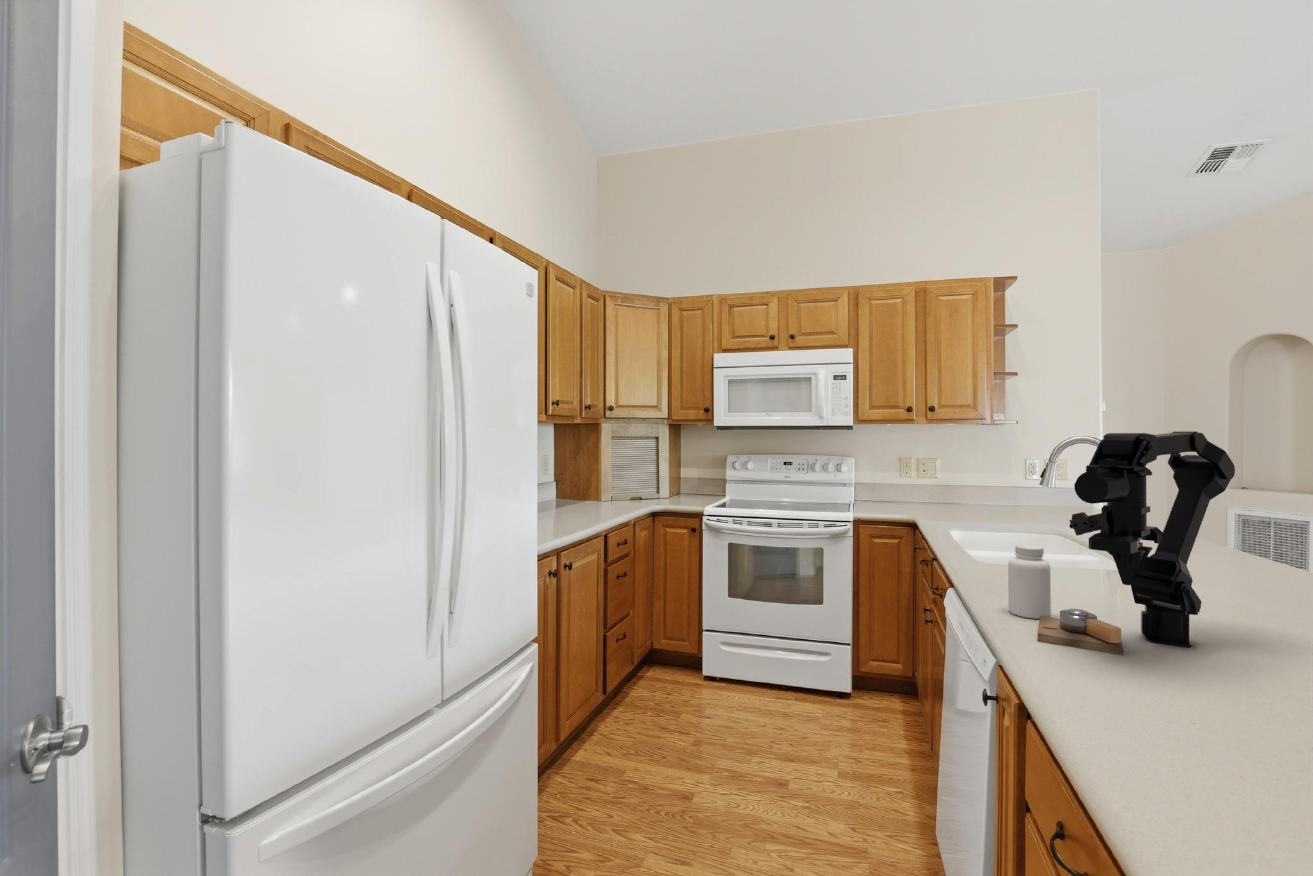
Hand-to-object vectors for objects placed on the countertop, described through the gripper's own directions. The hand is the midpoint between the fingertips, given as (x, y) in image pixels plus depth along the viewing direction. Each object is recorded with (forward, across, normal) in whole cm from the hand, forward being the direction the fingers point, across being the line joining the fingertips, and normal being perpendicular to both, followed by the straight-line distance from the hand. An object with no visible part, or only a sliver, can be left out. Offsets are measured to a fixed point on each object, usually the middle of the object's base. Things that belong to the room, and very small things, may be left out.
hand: (1126, 584), depth 109 cm
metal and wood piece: (+10, +1, -5) cm, 12 cm away
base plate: (+12, 0, -8) cm, 14 cm away
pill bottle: (+12, -9, -20) cm, 25 cm away
